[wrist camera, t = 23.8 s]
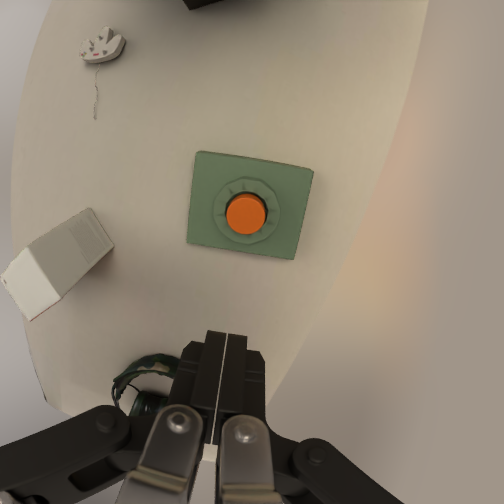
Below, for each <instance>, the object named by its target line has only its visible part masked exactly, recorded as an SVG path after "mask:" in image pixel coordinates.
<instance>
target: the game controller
mask: <svg viewBox="0 0 504 504" xmlns="http://www.w3.org/2000/svg"><path fill="white" fill-rule="evenodd" d="M112 35H113V31H112V30H111V29H110V28H109V27H108V26H105V27H103V28H102V30H101V32H100V33H99V35H98V37H97V39H96V41H95V44H93V43H92V42H91V41H89V40H85V41H84V42H83V43H82V45H81V50H80V58H82V59H83V60H85V61H86V62H89V63H98V62H99V67H100V62H104V61H108V60H111V59H113V58H115V57H116V56H118V55H119V53H120V52H121V50H122V48H123V46H124V43H125V39H124V38H123V37H122V36H121V35H116V36H114V37H113V38H112ZM98 71H99V68H98ZM98 71H97V72H98ZM97 72H96V75H97ZM95 87H96V77H95ZM96 88H97V87H96ZM97 96H98V89H97ZM96 102H97V98H96ZM95 104H96V103H95ZM95 104H94V110H95ZM94 119H95V116H94ZM96 119H97V118H96Z"/></svg>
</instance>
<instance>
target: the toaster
mask: <svg viewBox="0 0 504 504" xmlns="http://www.w3.org/2000/svg"><path fill="white" fill-rule="evenodd" d="M183 1H184V3H185V4H186V6H187V7H188V9H189V10H193V9H196V8H199V7H202V6H205V5H209V4H212V3H215V2H219V1H223V0H183Z"/></svg>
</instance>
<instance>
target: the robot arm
mask: <svg viewBox="0 0 504 504" xmlns="http://www.w3.org/2000/svg"><path fill="white" fill-rule="evenodd" d="M226 334H227V333H223V332H216V331H211V330H208V331H207V334H206V339H205V343H201V342H196V341H191V342H190V343H189V344H188V345H187V346H186V347H185V348H184V349H183V352H182V355H181V358H180V362H179V364H178V368H177V371H176V374H175V377H174V381H173V384H172V387H171V391H170V394H169V397H168V401H167V403H166V405H165V406H164V408H163V409H162V410H160V411H159V412H157V413H155V414H153V415H149V416H127V415H126V414H125V413H124V412H123V411H122V410H121V409H119V408H117V407H115V406H111V405H100V406H97V407H95V408H92V409H90V410H88V411H86V412H84V413H82V414H79V415H77V416H75V417H73V418H70V419H68V420H66V421H64V422H61V423H59V424H57V425H55V426H52V427H50V428H47V429H45V430H43V431H40V432H38V433H35V434H33V435H30V436H28V437H25V438H23V439H20V440H18V441H15V442H12V443H9V444H6V445H4V446H1V447H0V504H74V503H77V502H79V501H81V500H83V499H86V498H87V497H90V496H92V495H94V494H96V493H98V492H100V491H102V490H104V489H106V488H108V487H110V486H112V485H113V484H115V483H117V482H119V481H121V480H123V479H124V482H123V484H122V486H121V489H120V491H119V494H118V497H117V499H116V502H115V504H189V503H190V499H191V495H192V491H193V488H194V483H195V480H196V476H197V472H198V468H199V464H200V461H201V459H202V456H203V449H204V443H206V444H210V443H211V436H212V429H213V422H214V415H215V408H216V401H217V394H218V388H219V381H220V374H221V368H222V361H223V354H224V347H225V341H226ZM212 444H213V445H218V450H217V458H216V464H215V504H283V503H284V504H404V503H402V502H401V501H400V500H398V499H397V498H396V497H394V496H393V495H392V494H390V493H389V492H388V491H387V490H385V489H384V488H383V487H381V486H380V485H379V484H378V483H376V482H375V481H374V480H372V479H371V478H370V477H369V476H368V475H366V474H365V473H364V472H363V471H362V470H360V469H359V468H358V467H357V466H356V465H354V464H353V463H352V462H351V461H350V460H349V459H347V458H346V457H345V456H344V455H343V454H342V453H340V452H339V451H338V450H337V449H336V448H335V447H334V446H332V445H331V444H330V443H329V442H327V441H325V440H322V439H318V438H310V439H306V440H303V441H301V442H300V443H299V442H296V441H293V440H290V439H286V438H283V437H281V436H279V435H277V434H276V433H275V432H273V431H272V430H271V429H270V427H269V426H268V424H267V422H266V418H265V361H264V359H263V357H262V355H261V354H260V352H259V351H253V350H247V336H243V335H236V334H229V333H228V339H227V345H226V352H225V358H224V365H223V372H222V379H221V385H220V392H219V399H218V407H217V414H216V421H215V428H214V435H213V443H212Z"/></svg>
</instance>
